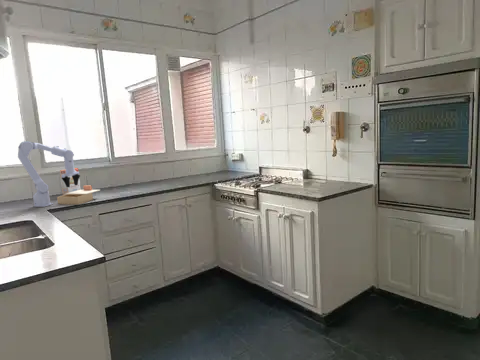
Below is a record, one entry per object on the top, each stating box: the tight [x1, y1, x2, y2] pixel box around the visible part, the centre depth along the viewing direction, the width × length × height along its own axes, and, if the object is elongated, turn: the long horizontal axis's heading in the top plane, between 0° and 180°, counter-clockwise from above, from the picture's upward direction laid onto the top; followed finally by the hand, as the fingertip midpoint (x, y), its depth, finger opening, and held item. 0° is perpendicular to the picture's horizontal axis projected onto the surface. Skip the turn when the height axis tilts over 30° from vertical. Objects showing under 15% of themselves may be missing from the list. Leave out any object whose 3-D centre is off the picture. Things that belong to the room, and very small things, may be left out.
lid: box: [66, 184, 101, 194], centre depth 238 cm, size 18×14×4 cm
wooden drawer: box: [56, 193, 94, 205], centre depth 231 cm, size 17×14×5 cm
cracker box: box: [59, 167, 82, 196], centre depth 256 cm, size 14×6×21 cm, turn 168°
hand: (72, 186), depth 237 cm, fingers open, 7 cm apart
